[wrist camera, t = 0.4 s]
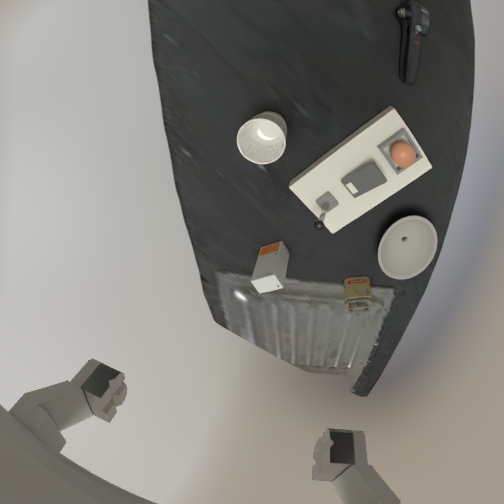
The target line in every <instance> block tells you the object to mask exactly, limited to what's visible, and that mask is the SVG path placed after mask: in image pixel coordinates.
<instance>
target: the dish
mask: <svg viewBox="0 0 504 504" xmlns="http://www.w3.org/2000/svg"><path fill="white" fill-rule="evenodd" d="M403 237H406V238H405V239H402V238H403ZM436 248H437V234H436V230H435V228H434V226H433V225H432V223H431V222H430V221H429V220H427V219H426V218H424V217H421V216H415V215H414V216H407V217H404V218H401V219H399V220H398V221H396V222H395V223H393V224H392V225H391V226H390V227H389V228H388V229H387V231H386V232H385V233H384V235H383V237H382V239H381V241H380V244H379V248H378V261H379V265H380V267H381V269H382V270H383V272H384V273H385V274H386V275H388V276H389V277H392V278H394V279H408V278H411V277H414V276H416V275H417V274H419V273H420V272H422V271H423V270H424V269H425V268H426V267H427V266H428V265H429V263H430V262H431V260H432V259H433V257H434V255H435V252H436Z"/></svg>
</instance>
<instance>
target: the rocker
mask: <svg viewBox="0 0 504 504" xmlns="http://www.w3.org/2000/svg"><path fill="white" fill-rule="evenodd" d="M386 182H387V179H386V177H385V176H384V174H383V173H382V172H381V170H380V169H379V167H378V166H377V165H376V163H375V162H374V161H373V162H371V163H369V164H368V165H366V166H364V167H362V168H360V169H359V170H357V171H355V172H353V173H351V174H350V175H348V176H346V177H344V178H343V179H341V183H342V184H343V185H344V186H345V187H346V189H347V190H348V191H349V192H350V193H351V195H352V196H353V197H354V198H356V197H358V196H360V195H362V194H364V193H366V192H368V191H370V190H372V189H374V188H376V187H378V186H380V185H382V184H384V183H386Z"/></svg>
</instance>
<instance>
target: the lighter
mask: <svg viewBox="0 0 504 504" xmlns="http://www.w3.org/2000/svg"><path fill="white" fill-rule="evenodd" d="M343 284H344V299H345V307H346V308H348V309H349V313H350V314H351V313H352V312H361V311H363V312H368V307H370V306H371V305H372V294H371V287H370V279H369V278H368V277H365V276H363V277H350V278H346V279H345V280H344V282H343ZM362 308H365V309H364V310H362ZM352 309H357V310H360V311H352Z"/></svg>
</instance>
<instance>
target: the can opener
mask: <svg viewBox="0 0 504 504" xmlns="http://www.w3.org/2000/svg"><path fill="white" fill-rule="evenodd" d="M396 16H397V18H398V19H399V21H400V22H401V24H402V31H403V35H402V36H403V37H402V46H401V56H400V79H401V80H402V81H403V82H406V83H407V84H409V85H413V84H414V83H415V82H416V78H417V74H418V69H419V64H420V57H421V46H422V36H427V35H428V33H429V30H430V12H429V9H428V7H426V6H425V5H423V4H421V3H420V2H419V1H417V0H406V1H405V2H404V3H403V5H401V6H399V7H398V8H397V10H396Z"/></svg>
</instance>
